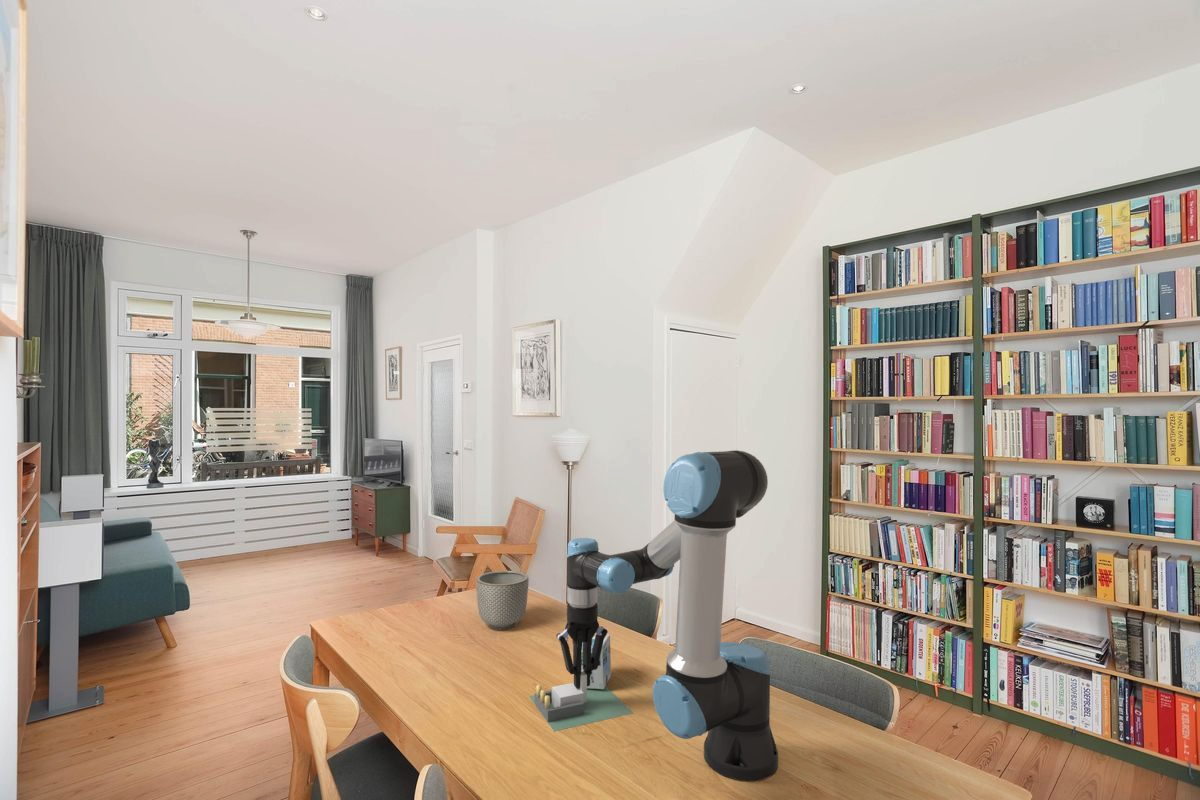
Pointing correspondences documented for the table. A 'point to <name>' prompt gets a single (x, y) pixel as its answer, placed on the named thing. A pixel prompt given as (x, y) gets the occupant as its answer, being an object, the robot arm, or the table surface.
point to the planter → (502, 598)
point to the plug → (566, 695)
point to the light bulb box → (600, 665)
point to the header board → (580, 708)
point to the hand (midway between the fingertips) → (581, 699)
